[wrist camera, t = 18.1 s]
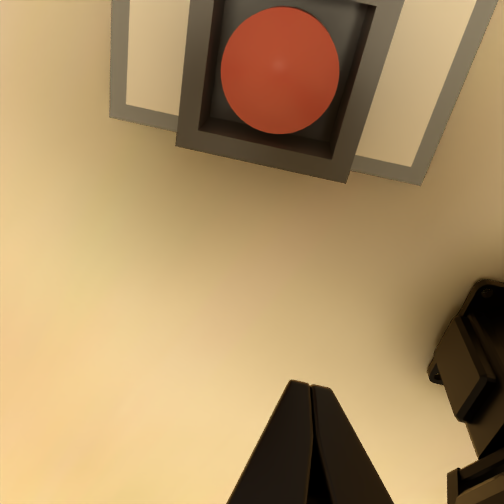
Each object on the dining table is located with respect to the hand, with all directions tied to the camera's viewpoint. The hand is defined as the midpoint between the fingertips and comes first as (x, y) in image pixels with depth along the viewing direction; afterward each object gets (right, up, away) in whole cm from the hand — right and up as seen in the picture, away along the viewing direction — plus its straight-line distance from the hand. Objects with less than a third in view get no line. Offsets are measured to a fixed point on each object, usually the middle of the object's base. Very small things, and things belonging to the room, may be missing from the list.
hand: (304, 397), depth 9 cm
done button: (0, +9, +6) cm, 11 cm away
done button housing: (0, +10, +7) cm, 12 cm away
